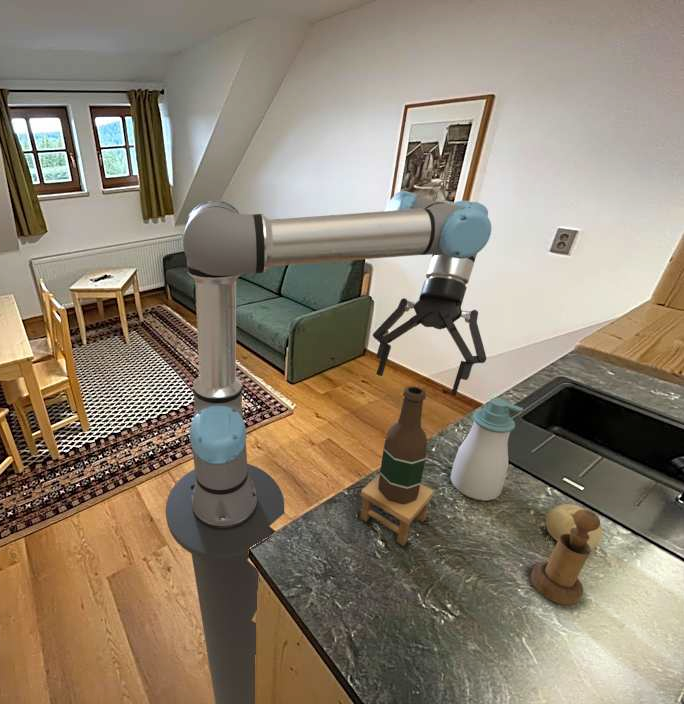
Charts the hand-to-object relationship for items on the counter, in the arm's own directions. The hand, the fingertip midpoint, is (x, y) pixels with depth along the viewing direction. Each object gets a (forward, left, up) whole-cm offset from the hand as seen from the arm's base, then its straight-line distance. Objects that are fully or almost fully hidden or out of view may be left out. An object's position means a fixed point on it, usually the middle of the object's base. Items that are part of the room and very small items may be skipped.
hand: (414, 384), depth 79 cm
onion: (+29, +10, -28) cm, 41 cm away
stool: (+4, -9, -28) cm, 29 cm away
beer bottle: (+4, -9, -20) cm, 22 cm away
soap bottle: (+12, +12, -28) cm, 33 cm away
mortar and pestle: (+30, -3, -28) cm, 41 cm away
